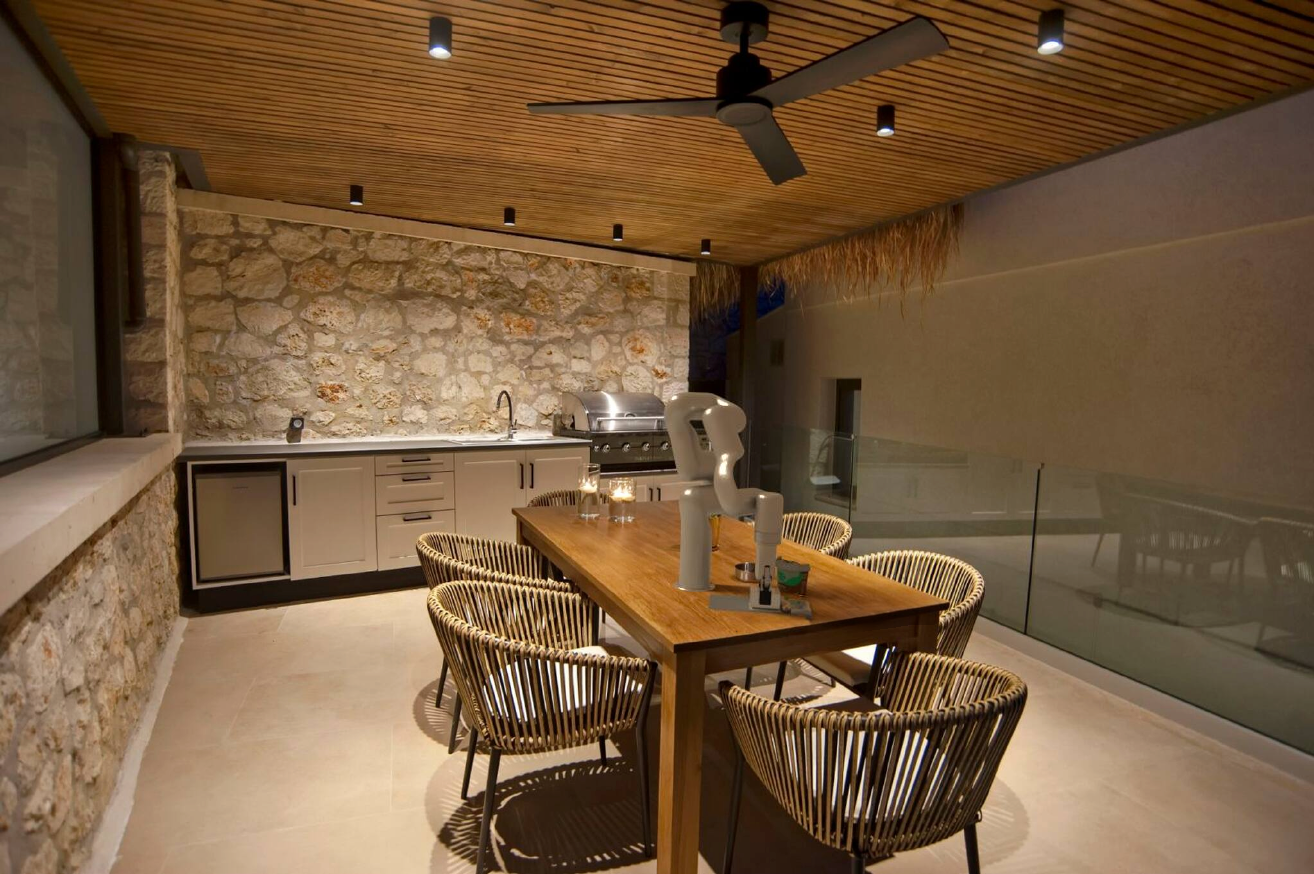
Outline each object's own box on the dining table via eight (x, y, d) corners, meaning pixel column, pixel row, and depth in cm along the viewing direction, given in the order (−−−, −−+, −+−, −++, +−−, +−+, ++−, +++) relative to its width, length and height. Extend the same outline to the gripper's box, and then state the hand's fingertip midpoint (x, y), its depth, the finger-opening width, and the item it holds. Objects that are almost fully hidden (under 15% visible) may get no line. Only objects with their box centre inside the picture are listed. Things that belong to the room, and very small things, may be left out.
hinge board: (709, 597, 207) (710, 593, 207) (806, 604, 204) (807, 600, 204) (708, 612, 193) (708, 608, 193) (812, 619, 190) (812, 615, 190)
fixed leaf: (780, 603, 201) (780, 594, 200) (807, 605, 200) (808, 596, 200) (782, 613, 191) (782, 605, 191) (811, 615, 190) (811, 607, 190)
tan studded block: (749, 600, 200) (750, 586, 199) (778, 602, 199) (778, 588, 199) (750, 606, 194) (750, 592, 193) (779, 609, 193) (780, 594, 193)
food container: (764, 589, 217) (766, 557, 217) (778, 586, 221) (780, 555, 220) (795, 600, 208) (797, 566, 207) (809, 596, 211) (811, 564, 211)
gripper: (753, 530, 204) (750, 591, 205) (755, 543, 187) (751, 609, 188) (779, 531, 203) (776, 593, 204) (783, 545, 186) (780, 611, 187)
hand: (764, 600), depth 196 cm, fingers closed on tan studded block, 6 cm apart
